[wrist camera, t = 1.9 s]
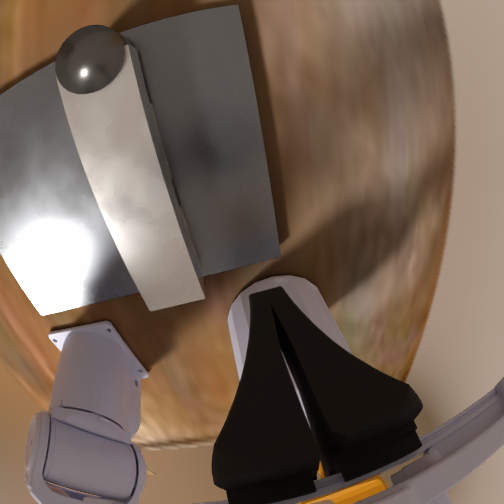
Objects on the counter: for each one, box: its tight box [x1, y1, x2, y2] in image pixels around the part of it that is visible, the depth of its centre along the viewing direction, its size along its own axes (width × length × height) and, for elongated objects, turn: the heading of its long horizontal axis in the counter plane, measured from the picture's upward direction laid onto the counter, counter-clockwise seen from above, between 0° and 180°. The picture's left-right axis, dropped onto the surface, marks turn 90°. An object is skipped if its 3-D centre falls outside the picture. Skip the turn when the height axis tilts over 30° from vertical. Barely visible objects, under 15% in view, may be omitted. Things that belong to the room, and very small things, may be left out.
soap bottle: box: [227, 275, 388, 504], centre depth 18 cm, size 9×9×25 cm
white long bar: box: [55, 25, 205, 311], centre depth 15 cm, size 18×4×3 cm, turn 9°
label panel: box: [0, 5, 281, 315], centre depth 17 cm, size 18×22×2 cm
